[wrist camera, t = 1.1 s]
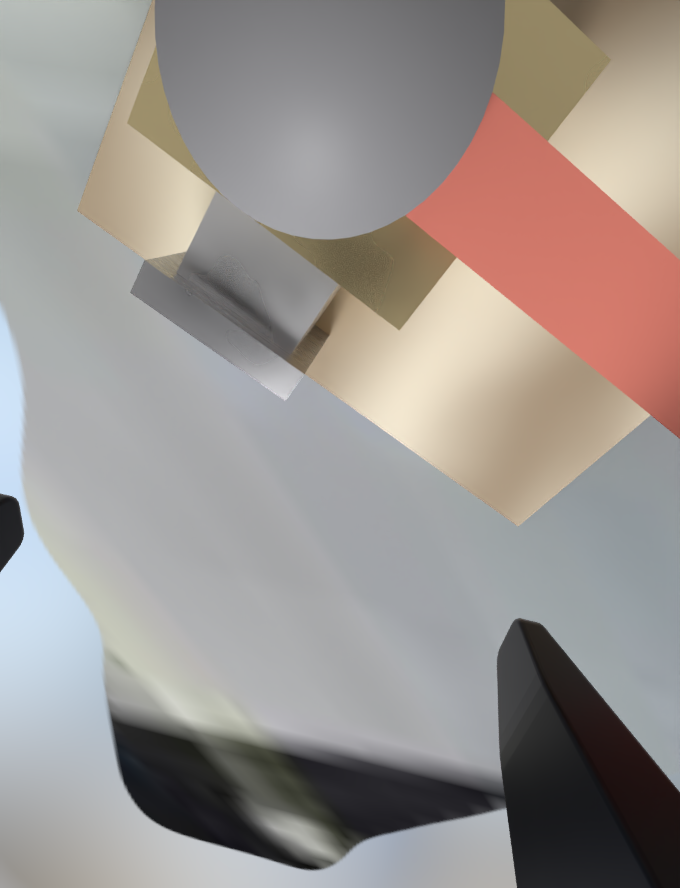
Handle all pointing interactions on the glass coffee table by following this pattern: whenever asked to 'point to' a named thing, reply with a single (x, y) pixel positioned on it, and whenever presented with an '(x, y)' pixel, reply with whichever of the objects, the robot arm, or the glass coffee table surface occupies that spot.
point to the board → (462, 280)
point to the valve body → (337, 260)
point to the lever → (419, 162)
